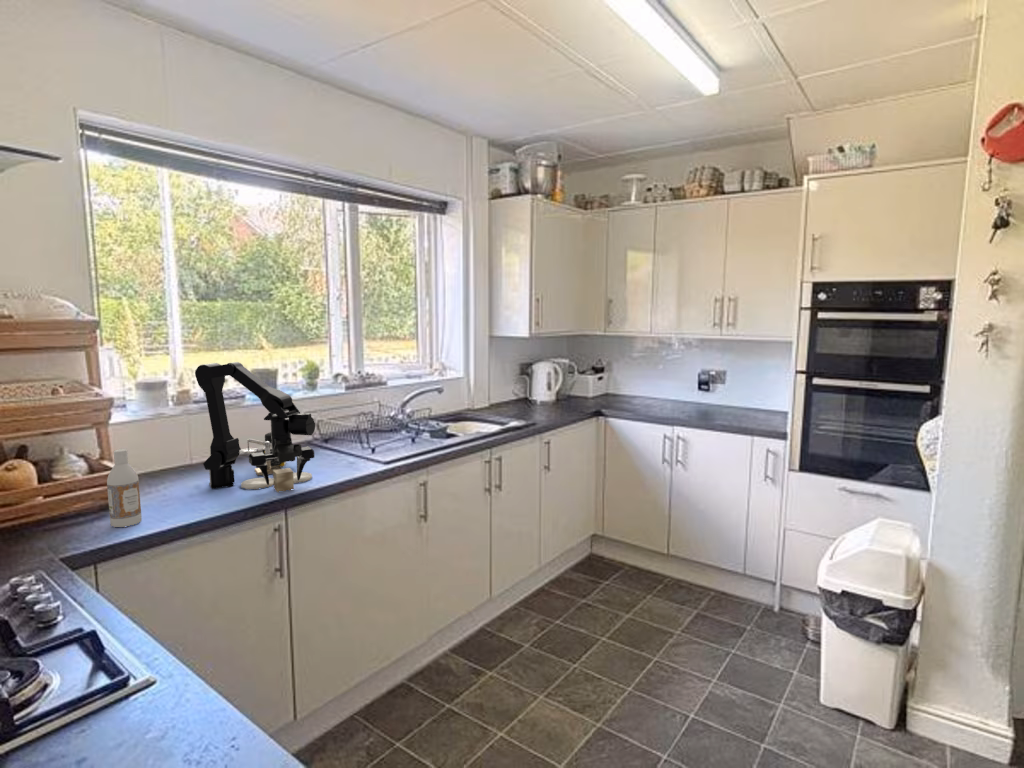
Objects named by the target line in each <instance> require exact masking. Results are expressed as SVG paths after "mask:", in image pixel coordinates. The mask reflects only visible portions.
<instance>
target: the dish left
mask: <svg viewBox="0 0 1024 768" xmlns="http://www.w3.org/2000/svg"><path fill="white" fill-rule="evenodd" d="M268 478H269V485H267V483H266V481H265V478H264V477H254V478H249V479H246V480H243V481H242V482H241V483H240V485H241V486H240V487H241V489H243V488H245V489H244V490H250V489H254V490H260V489H259V488H263V489H266V488H265V487H267V488H270V487H273V486H274V480H273V477H268ZM272 485H273V486H272ZM269 486H270V487H269Z"/></svg>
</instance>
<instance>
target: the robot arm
mask: <svg viewBox="0 0 1024 768" xmlns="http://www.w3.org/2000/svg"><path fill="white" fill-rule="evenodd" d="M194 374H195V375H194V376H195V378H196V381H197V384H198V386H199V388H201V390H202V391H203V393H204V394H205V400H206V405H207V410H208V415H209V420H210V427H211V431H212V440H211V443H210V448H209V449H210V450H209V452H210V453H209V454H210V455H209V457H208V458H207V459H206V460H205V461H204V462H203V467H204V469H205V470H206V471H208V470H209V473H208V474H209V483H208V484H209V487H210V488H211V489H212V490H213V489H219V488H226V487H232V486H235V484H234V483H235V481H236V480H235V470H234V469H233V467H232V465H234V464H236V461H237V459H238V457H239V456H240V452H239V450H241V449H242V448H241V446H240V439H239V438H238V437H236V438H234V436H233V435H232V434H231V431H230V425H229V420H228V415H227V411H226V410H227V409H226V404H225V399H224V393H223V389H224V386H225V382H226V376H229V377H231V378H233V379H234V380H235V381H236V382H238V383H239V384H241V386H243V387H245V389H247V390H248V391H250V392H251V393H252V394H253V395H254V396H256V397H257V398H258V399H259V400H260V402H261V404H262V407H264V408H265V409H266V411H268V414H267V415H266V416H265V417H263V420H264V421H270V432H271V440H272V454H268V455H264V454H263V451H258V452H256V453H251V454H248V463H249V464H250V466H253V467H255V468H260V470H261V472H262V474H263V475H262V477H263V478H265V481H266V483H267V485H269V478H270V477H269V474H268V472H267V465H266V464H265V462H266V461H268V460H276V459H278V460H279V462H281V463H284V462H286V463H288V462H295V461H296V472H297V480H300V476H301V473H302V472H303V470H304V467H305V466H306V464H307V462H309V461H311V459H315V450H314V449H313V448H311V447H310V446H308V445H307V446H302V444H300V443H296V444H295V443H293V440H292V435H293V436H312V435H314V432H315V430H316V422H315V420H314V418H313V417H312V413H311V412H309V413H301V411H300V410H299V408H297V406H296V405H295V403H294V401H293V398H292V397H291V395H289V394H287V393H286V392H284V391H282V390H280V389H278V388H274V387H272V386H270V385H268V384H267V383H266V382H264V381H263V380H262V379H260V378H259V377H258V376H257V375H255V374H254V373H253V372H251V371H250V370H249V369H247V367H245V366H244V365H243V363H241V362H239V361H234V362H229V363H227V364H220V363H218V362H210V363H206V364H200V365H198V366H197V368H196V369H195V370H194ZM276 456H277V457H276Z"/></svg>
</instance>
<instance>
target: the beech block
mask: <svg viewBox="0 0 1024 768" xmlns="http://www.w3.org/2000/svg"><path fill="white" fill-rule="evenodd" d="M293 473H294V471H293V470H292V468H290V467H286V468H282V469H278V470H273V474H272V478H273V480H274V485H273V489H274V488H275V489H274V490H275V491H276V493H280V492H279V491H283V492H287V491H286V490H289V491H292V490H291V489H294V490H295V483H294V479H293Z"/></svg>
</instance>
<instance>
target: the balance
mask: <svg viewBox="0 0 1024 768" xmlns="http://www.w3.org/2000/svg"><path fill="white" fill-rule="evenodd" d="M246 443H247V448H241V450H239V452H240V453H239V455H240V454H241V455H250V454H251V453H259V448H257V447H250V443H251V444H256V445H261V446H263V447H264V446H265V455H268V454H270V447H272V443H270V442H269V441H266V442H265V441H262V440H258V439H257V440H256V439H253V438H247V442H246ZM277 461H279V460H278V459H277ZM266 465H267V472H268V475H273V470H278V469H283V468H282V467H280V466H279V465H277V466H271V460H268V461H266ZM254 472H256V473H255V474H256V475H257V476H258V477H259V475H261V476H263V474H262V472H261V470H260V468H257V467H255V468H254Z"/></svg>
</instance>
